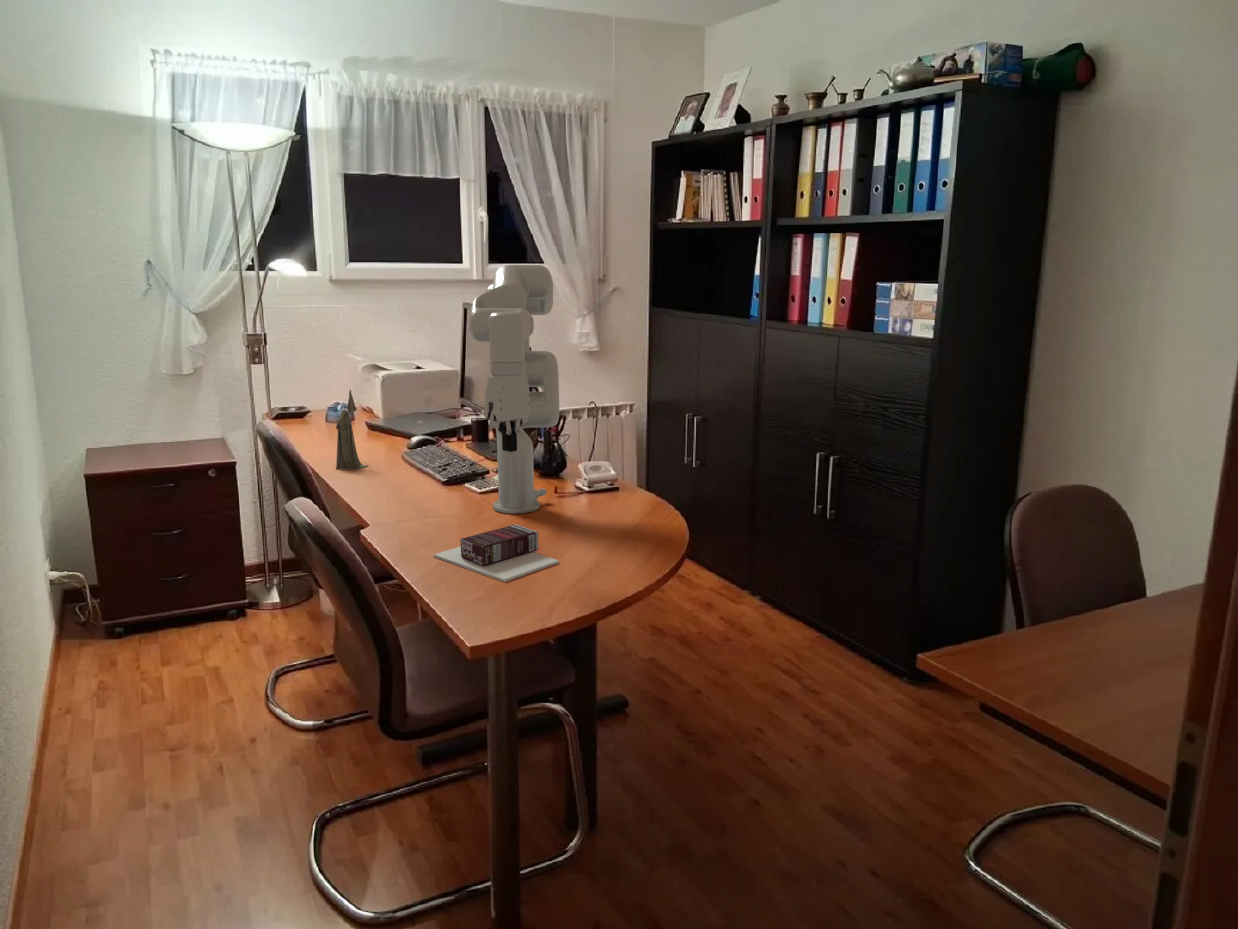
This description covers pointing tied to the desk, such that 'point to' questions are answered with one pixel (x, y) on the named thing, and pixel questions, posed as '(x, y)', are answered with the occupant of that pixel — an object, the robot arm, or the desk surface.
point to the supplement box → (499, 544)
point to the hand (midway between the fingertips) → (509, 450)
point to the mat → (500, 564)
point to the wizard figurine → (347, 440)
